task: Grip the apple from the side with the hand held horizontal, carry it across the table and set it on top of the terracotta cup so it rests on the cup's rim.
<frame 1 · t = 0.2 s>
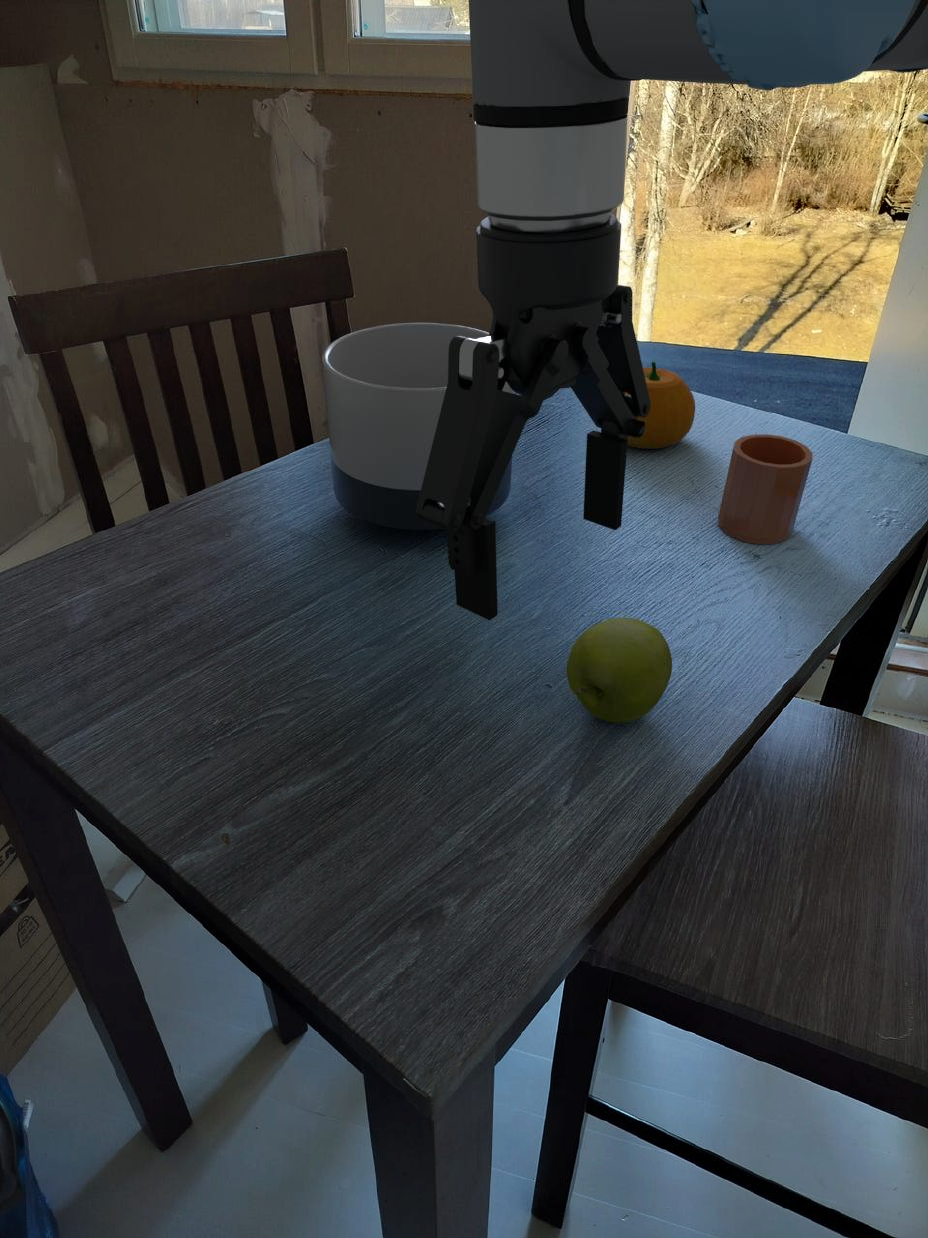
hand: (543, 563, 56), 16 cm above the table, tool pointing down, fingers open, 13 cm apart
cup: (754, 525, 93), on the table
planter: (423, 510, 95), on the table
apple: (611, 709, 69), on the table
fruit: (643, 439, 111), on the table
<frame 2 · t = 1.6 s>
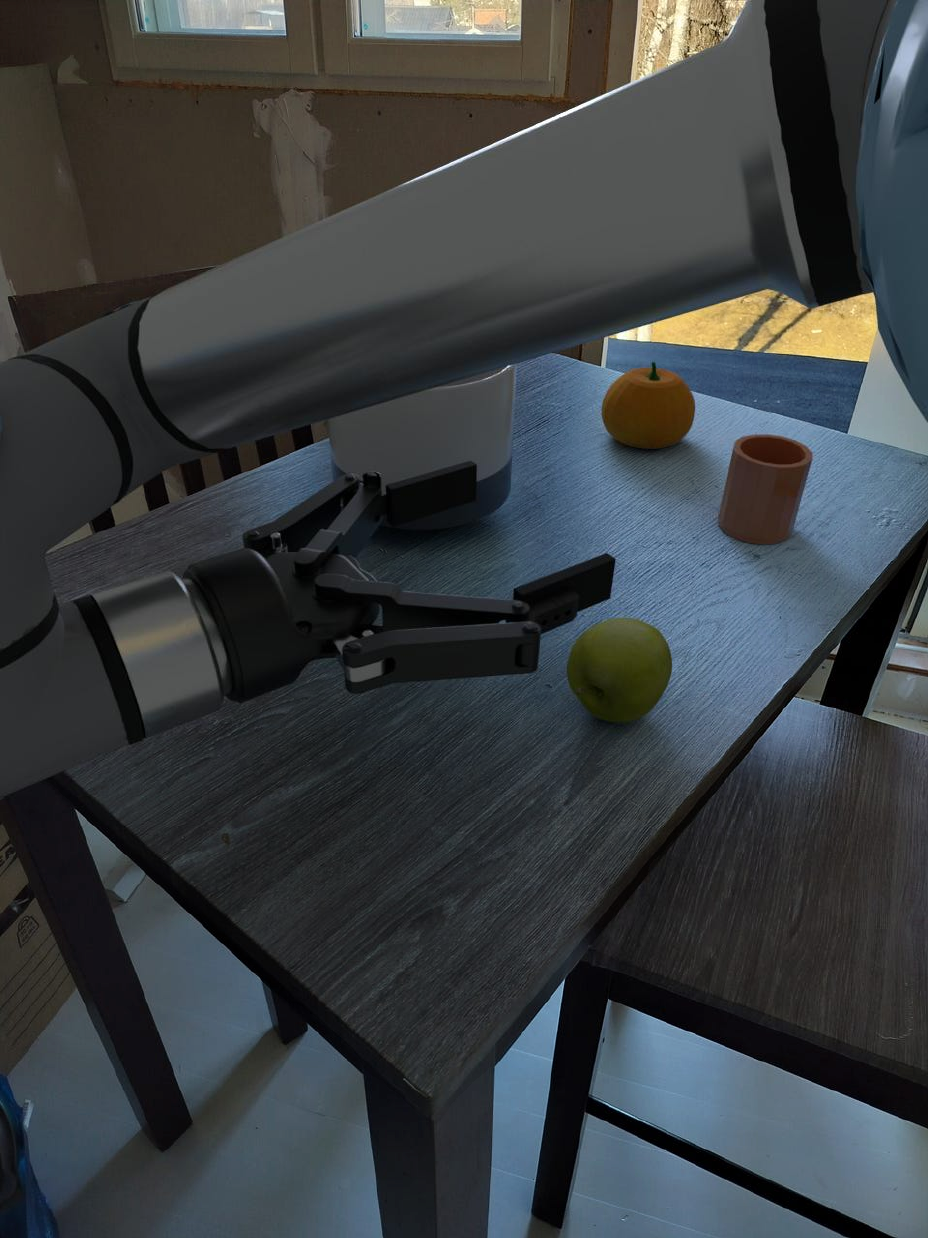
hand: (535, 524, 53), 20 cm above the table, tool horizontal, fingers open, 13 cm apart
nothing on the table moved.
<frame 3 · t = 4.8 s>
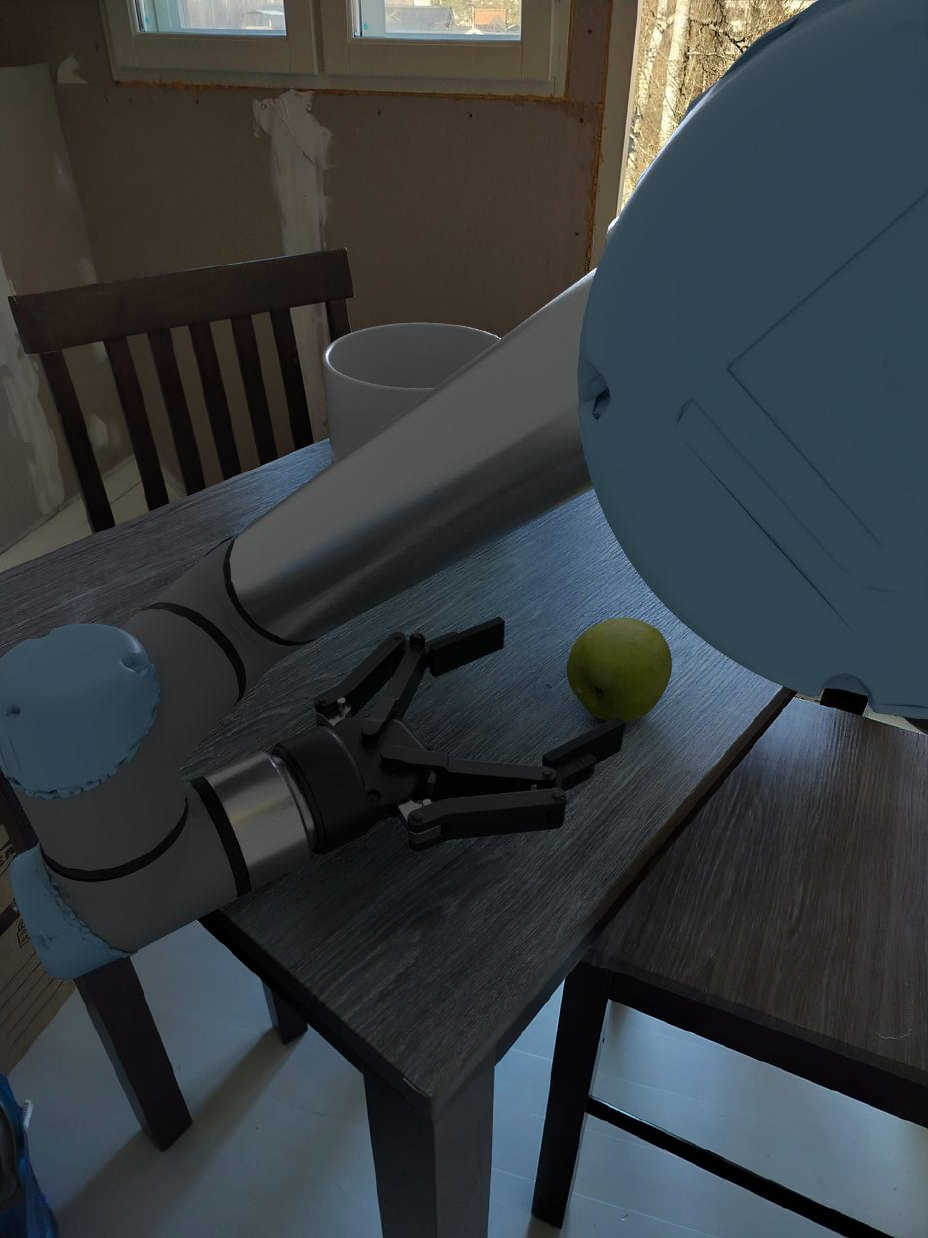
hand: (556, 679, 63), 6 cm above the table, tool horizontal, fingers open, 13 cm apart
nothing on the table moved.
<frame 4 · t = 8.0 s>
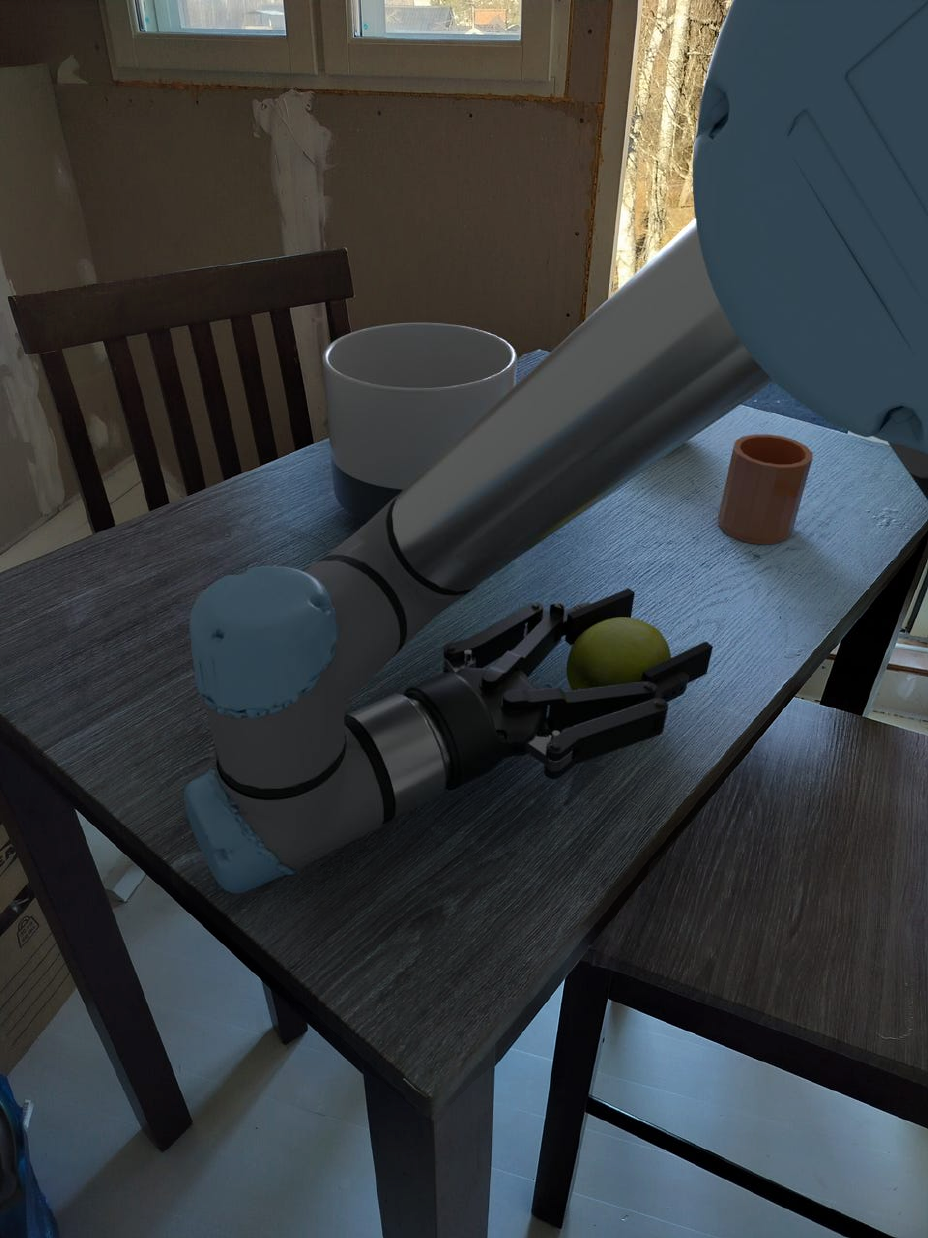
hand: (666, 629, 68), 6 cm above the table, tool horizontal, fingers closed on apple, 8 cm apart
apple: (611, 709, 69), on the table, touching gripper
everything else where it was.
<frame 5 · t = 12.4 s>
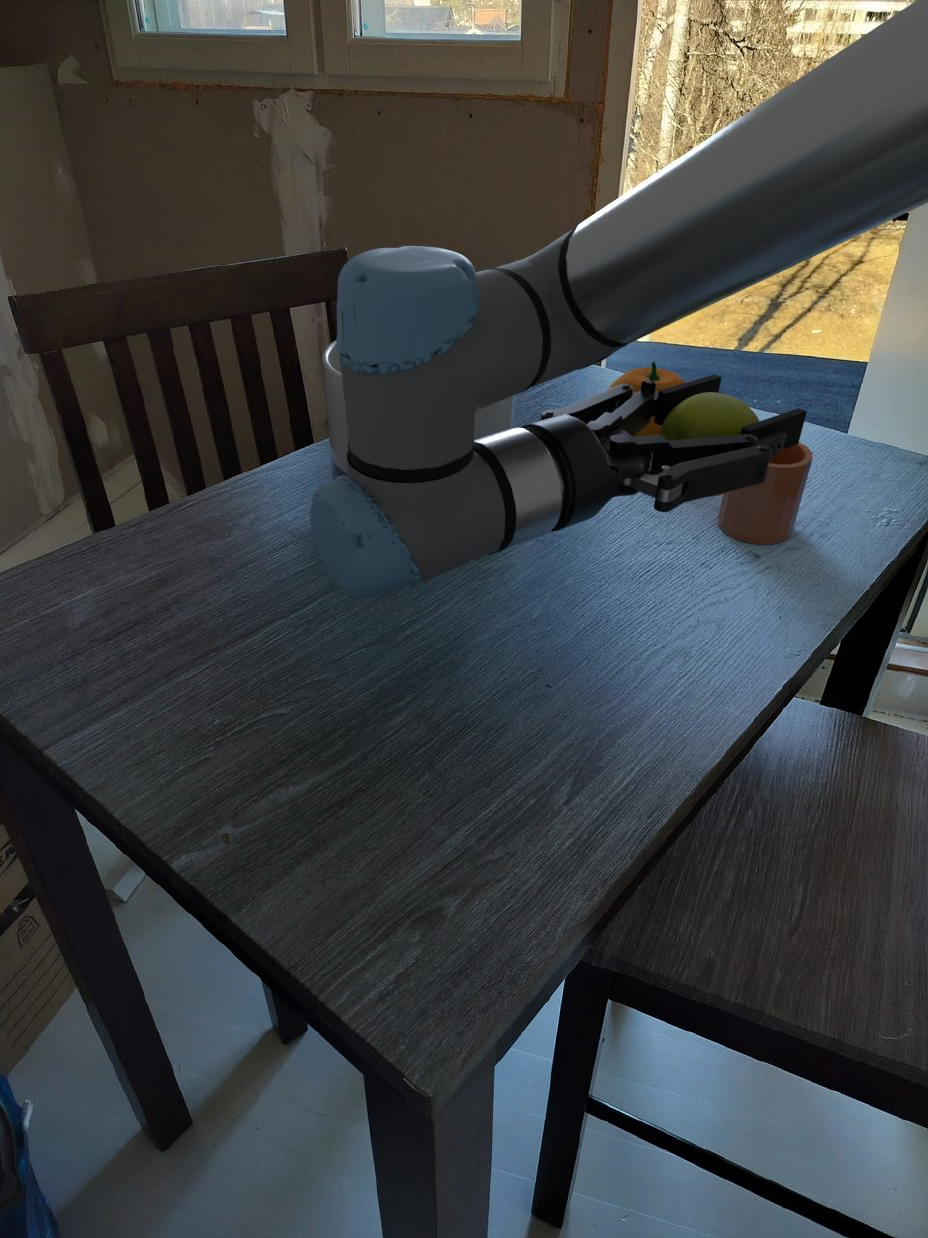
hand: (754, 407, 69), 20 cm above the table, tool horizontal, fingers closed on apple, 8 cm apart
apple: (699, 492, 70), point 14 cm above the table, touching gripper
everything else where it was.
when the fingers open (15 cm above the table, at t = 16.9 s): apple stays where it is, resting on cup.
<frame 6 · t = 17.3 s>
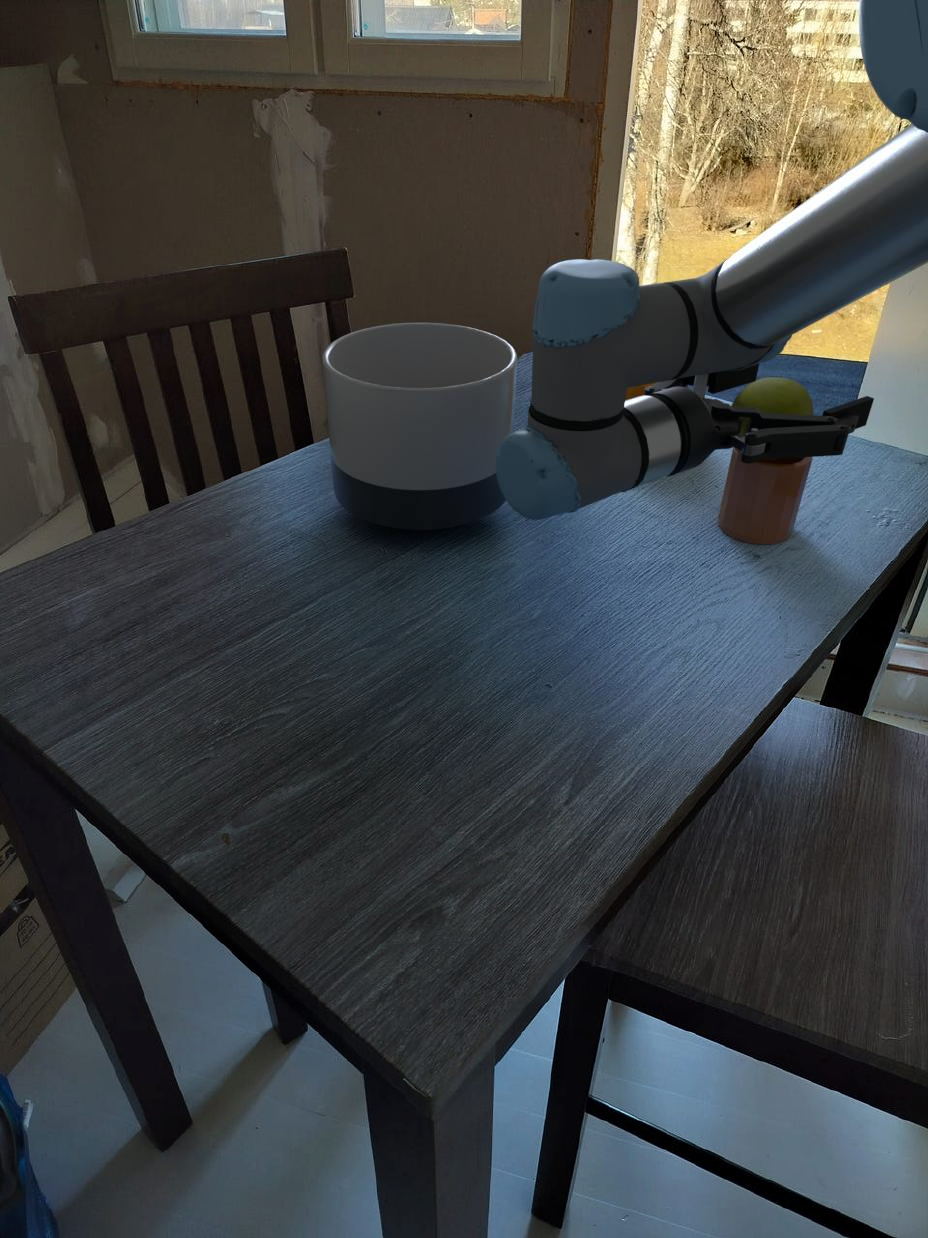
hand: (808, 387, 85), 15 cm above the table, tool horizontal, fingers open, 13 cm apart
apple: (771, 456, 88), point 8 cm above the table, touching cup
everything else where it was.
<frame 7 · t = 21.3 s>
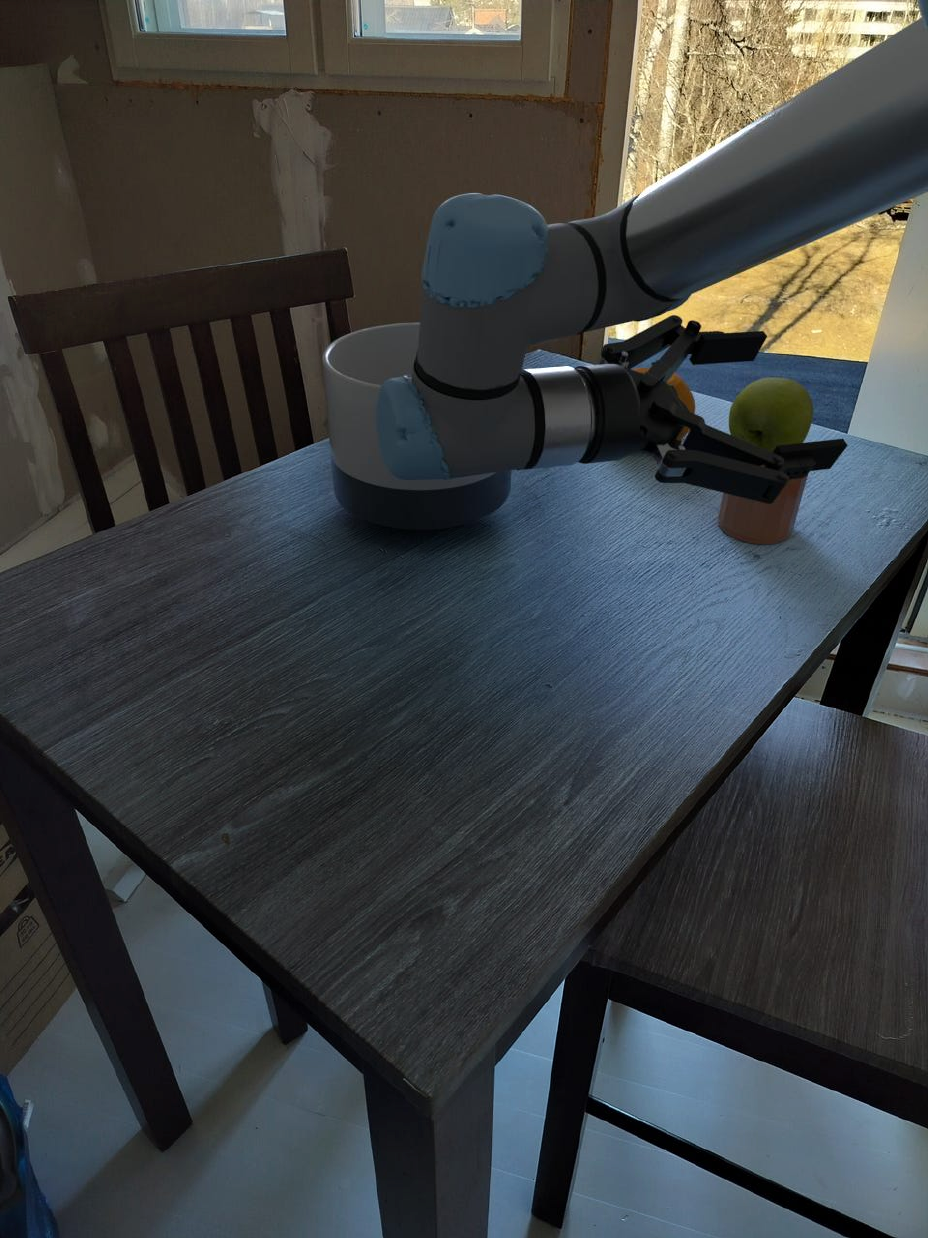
hand: (796, 397, 73), 19 cm above the table, tool horizontal, fingers open, 13 cm apart
nothing on the table moved.
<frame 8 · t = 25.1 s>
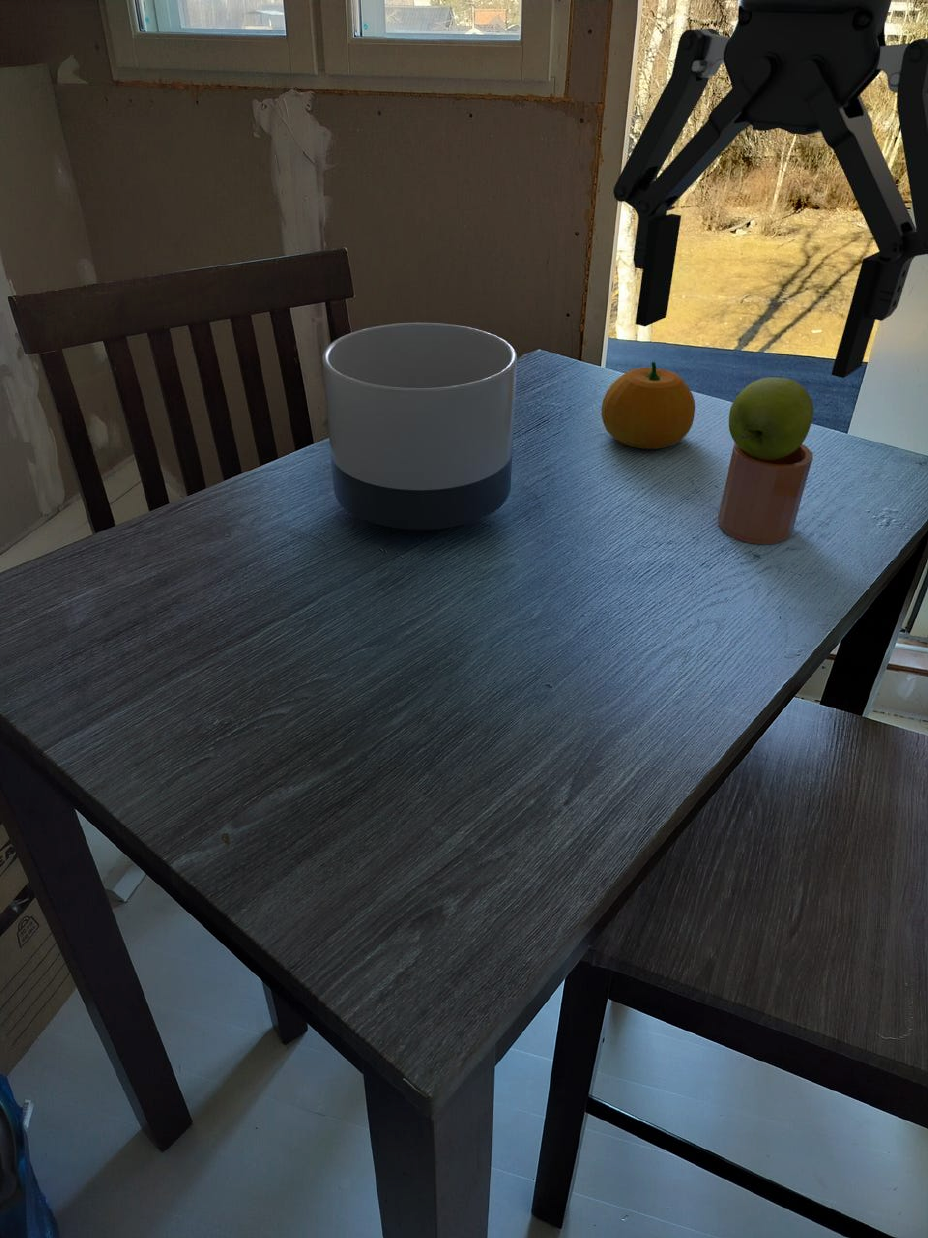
hand: (742, 344, 55), 29 cm above the table, tool pointing down, fingers open, 13 cm apart
nothing on the table moved.
at the end: apple 0.1 cm off-centre on the cup, point 8.3 cm above the cup's base; apple touching cup; the gripper is holding nothing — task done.
